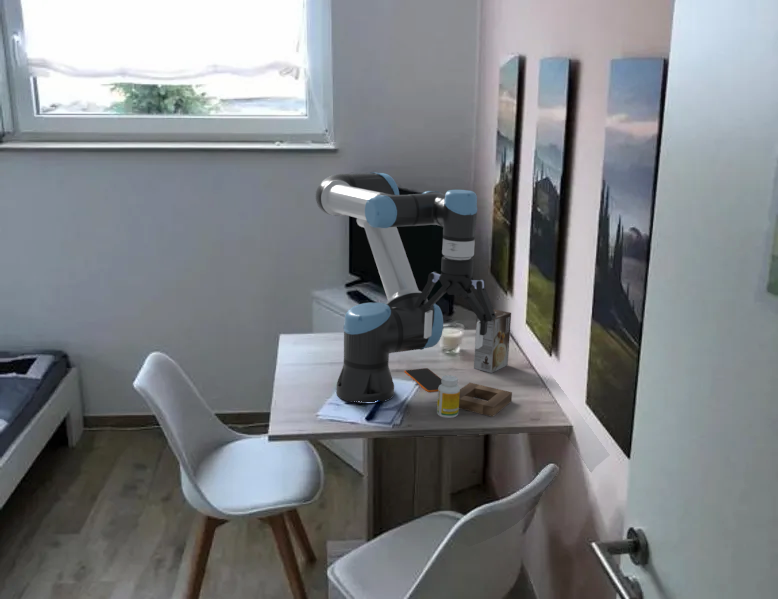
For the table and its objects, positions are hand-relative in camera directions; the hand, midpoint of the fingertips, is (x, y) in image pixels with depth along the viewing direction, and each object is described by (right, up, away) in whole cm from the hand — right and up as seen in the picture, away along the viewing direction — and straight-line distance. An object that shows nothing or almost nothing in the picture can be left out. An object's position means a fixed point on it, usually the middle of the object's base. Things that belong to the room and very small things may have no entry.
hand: (452, 342), depth 205 cm
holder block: (+8, -16, +12) cm, 22 cm away
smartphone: (-5, -12, +27) cm, 30 cm away
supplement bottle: (-1, -18, +5) cm, 19 cm away
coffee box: (+14, -9, +39) cm, 42 cm away
